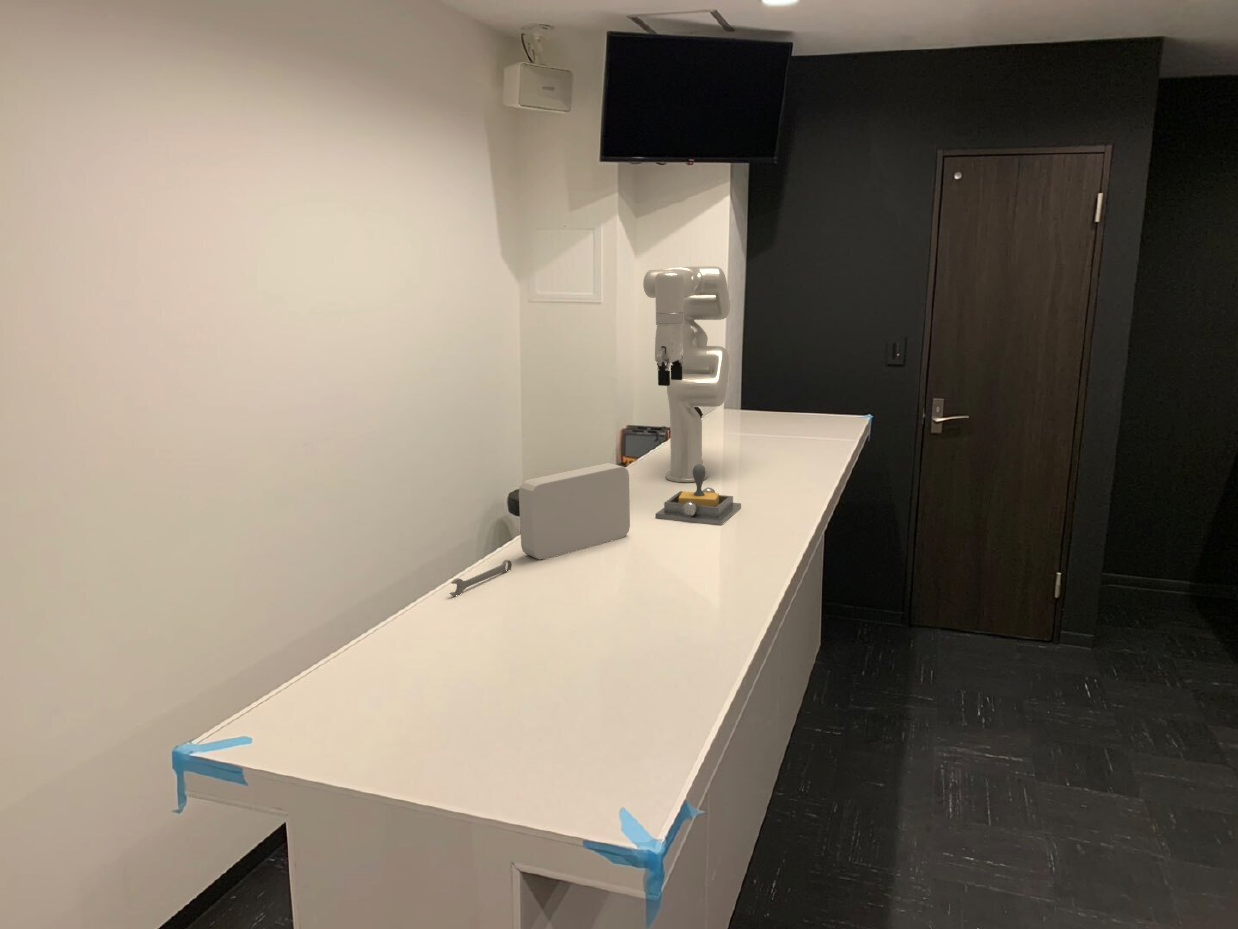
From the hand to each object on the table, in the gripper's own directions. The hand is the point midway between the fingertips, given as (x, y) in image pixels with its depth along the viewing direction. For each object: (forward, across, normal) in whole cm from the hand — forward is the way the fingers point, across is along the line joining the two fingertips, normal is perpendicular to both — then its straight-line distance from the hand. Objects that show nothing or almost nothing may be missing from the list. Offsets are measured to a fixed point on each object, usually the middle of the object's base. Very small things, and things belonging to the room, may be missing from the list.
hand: (670, 382), depth 255 cm
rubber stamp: (+32, +10, +12) cm, 35 cm away
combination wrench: (+32, +76, -15) cm, 84 cm away
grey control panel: (+32, +46, -7) cm, 57 cm away
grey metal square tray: (+33, +11, +12) cm, 36 cm away
